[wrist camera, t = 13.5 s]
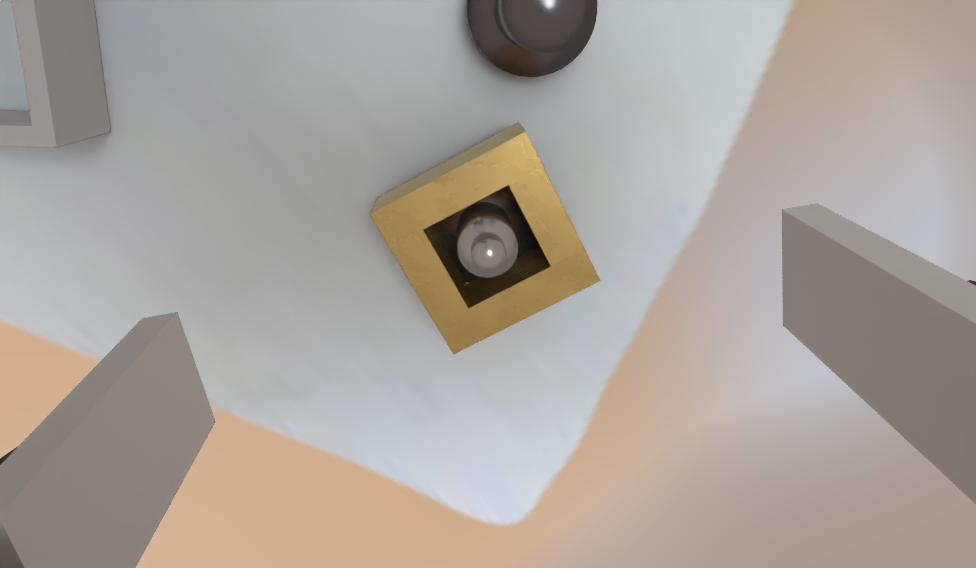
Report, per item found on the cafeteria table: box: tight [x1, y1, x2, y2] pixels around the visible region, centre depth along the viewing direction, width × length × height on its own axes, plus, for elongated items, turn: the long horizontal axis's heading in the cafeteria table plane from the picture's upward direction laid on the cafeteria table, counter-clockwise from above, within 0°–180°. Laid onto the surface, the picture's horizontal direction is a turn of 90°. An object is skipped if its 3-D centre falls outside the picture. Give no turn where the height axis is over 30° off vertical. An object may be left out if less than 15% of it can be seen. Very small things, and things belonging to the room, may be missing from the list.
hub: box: [433, 185, 540, 283], centre depth 40 cm, size 7×7×8 cm
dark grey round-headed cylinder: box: [466, 0, 597, 77], centre depth 35 cm, size 7×7×10 cm
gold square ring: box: [370, 122, 600, 354], centre depth 40 cm, size 9×9×4 cm
